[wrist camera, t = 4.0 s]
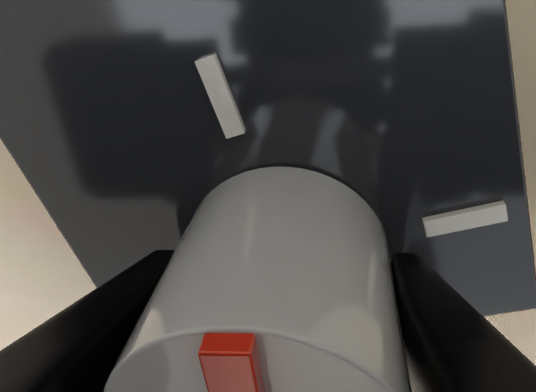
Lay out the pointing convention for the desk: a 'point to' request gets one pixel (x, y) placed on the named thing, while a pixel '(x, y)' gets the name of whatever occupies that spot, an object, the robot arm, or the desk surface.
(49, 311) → the desk surface
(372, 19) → the rotary dial box
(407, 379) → the rotary knob
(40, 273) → the desk surface
